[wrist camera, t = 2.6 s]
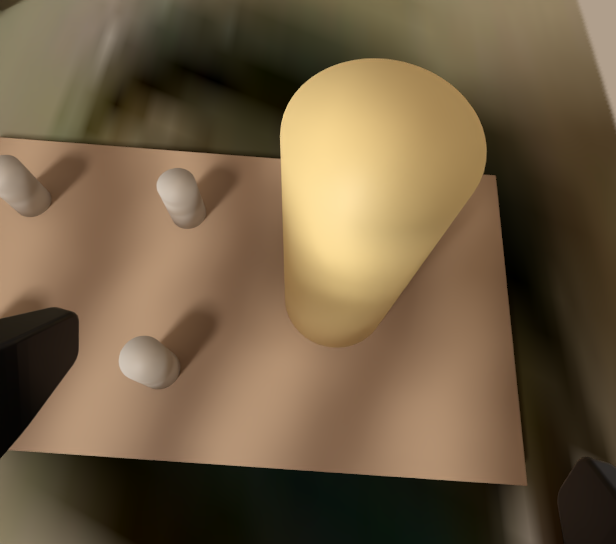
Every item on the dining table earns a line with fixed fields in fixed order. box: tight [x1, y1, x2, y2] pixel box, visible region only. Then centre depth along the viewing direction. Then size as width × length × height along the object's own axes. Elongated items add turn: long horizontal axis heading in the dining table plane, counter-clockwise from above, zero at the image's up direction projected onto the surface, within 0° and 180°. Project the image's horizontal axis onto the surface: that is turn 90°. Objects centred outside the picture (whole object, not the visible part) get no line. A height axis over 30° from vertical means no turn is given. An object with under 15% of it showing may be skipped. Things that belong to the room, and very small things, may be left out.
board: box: [0, 137, 527, 486], centre depth 19 cm, size 26×14×4 cm, turn 86°
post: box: [280, 58, 487, 348], centre depth 15 cm, size 4×4×11 cm
